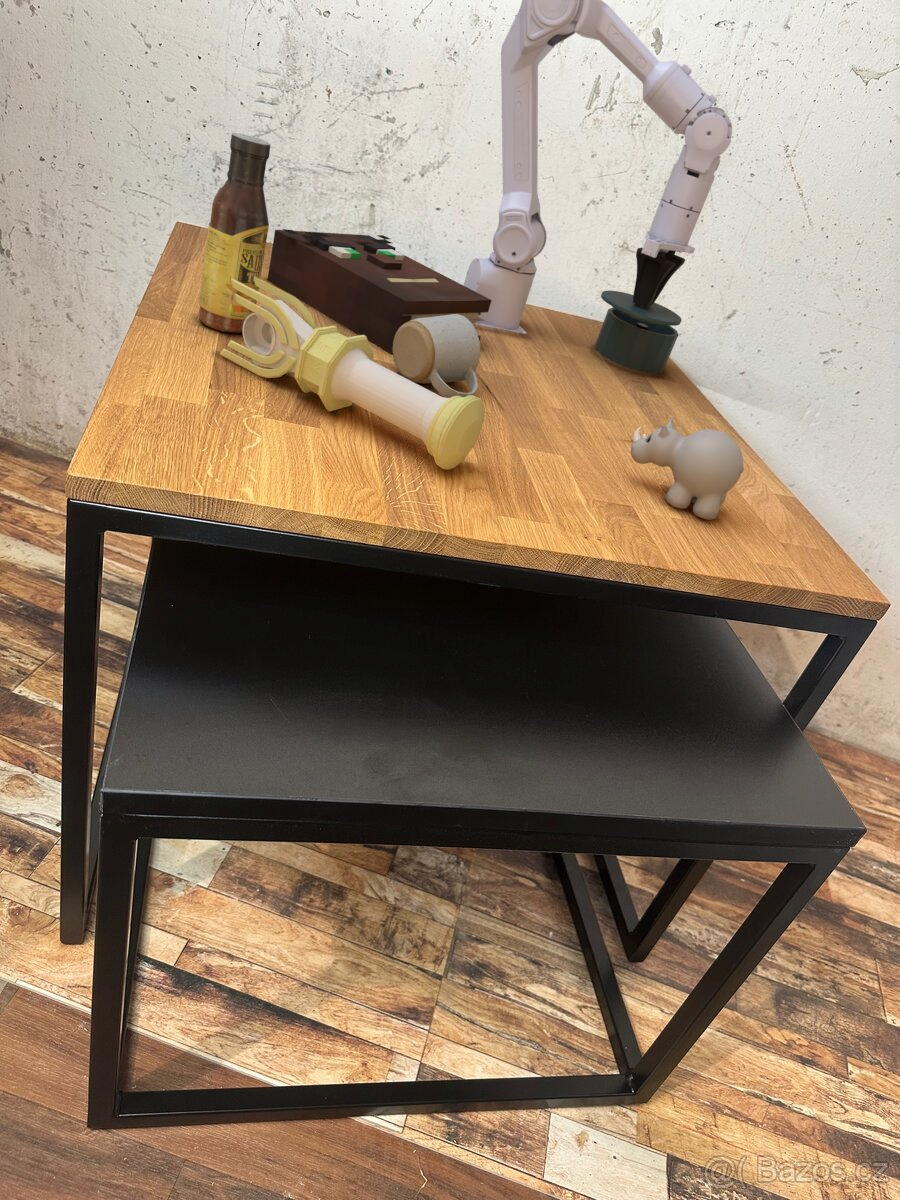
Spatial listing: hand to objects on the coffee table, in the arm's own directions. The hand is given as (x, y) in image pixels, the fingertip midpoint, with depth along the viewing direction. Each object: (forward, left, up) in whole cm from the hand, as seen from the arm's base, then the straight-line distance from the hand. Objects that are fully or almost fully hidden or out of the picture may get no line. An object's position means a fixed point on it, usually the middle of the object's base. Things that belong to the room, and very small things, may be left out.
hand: (642, 303), depth 126 cm
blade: (+4, +5, -10) cm, 11 cm away
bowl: (+4, +5, -10) cm, 12 cm away
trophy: (-49, -31, -10) cm, 59 cm away
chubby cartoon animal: (-14, -41, -10) cm, 45 cm away
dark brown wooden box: (-38, +4, -10) cm, 39 cm away
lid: (0, 0, -1) cm, 1 cm away
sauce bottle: (-59, -11, -10) cm, 61 cm away
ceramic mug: (-35, -19, -10) cm, 41 cm away
